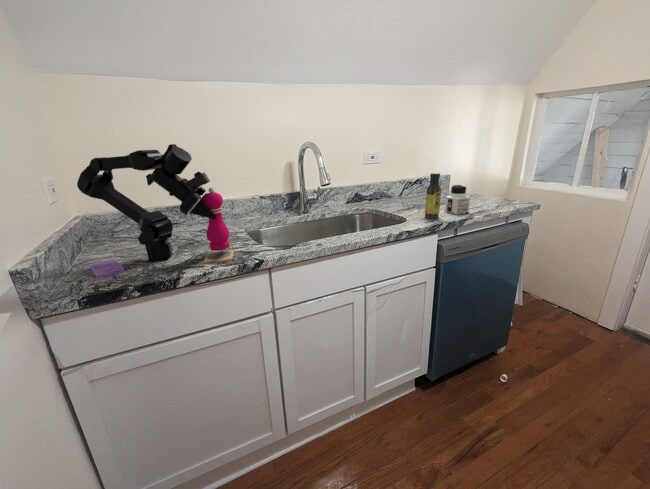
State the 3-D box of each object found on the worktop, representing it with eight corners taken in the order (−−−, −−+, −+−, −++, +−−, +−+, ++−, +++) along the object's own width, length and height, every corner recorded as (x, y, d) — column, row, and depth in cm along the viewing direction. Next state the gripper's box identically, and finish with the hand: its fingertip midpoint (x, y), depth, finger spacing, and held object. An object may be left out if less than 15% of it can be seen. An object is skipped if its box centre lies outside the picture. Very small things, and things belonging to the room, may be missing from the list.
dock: (203, 263, 97) (203, 261, 97) (207, 254, 105) (207, 252, 104) (231, 260, 98) (231, 258, 98) (233, 252, 106) (233, 249, 106)
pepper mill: (222, 242, 108) (214, 185, 101) (235, 246, 104) (227, 186, 97) (204, 248, 102) (194, 188, 96) (217, 253, 98) (207, 190, 91)
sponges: (97, 281, 89) (96, 275, 88) (89, 269, 97) (88, 264, 97) (125, 273, 93) (124, 267, 93) (115, 263, 102) (114, 258, 101)
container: (456, 214, 145) (459, 187, 141) (444, 211, 152) (446, 185, 148) (468, 212, 148) (471, 185, 144) (456, 209, 155) (458, 183, 151)
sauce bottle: (436, 219, 138) (440, 174, 132) (422, 218, 142) (425, 173, 135) (440, 216, 144) (444, 172, 137) (426, 215, 147) (429, 172, 141)
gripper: (184, 165, 84) (231, 202, 90) (194, 162, 102) (233, 193, 107) (159, 196, 85) (207, 230, 91) (173, 187, 102) (213, 217, 108)
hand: (216, 216), depth 99 cm, fingers closed on pepper mill, 5 cm apart
